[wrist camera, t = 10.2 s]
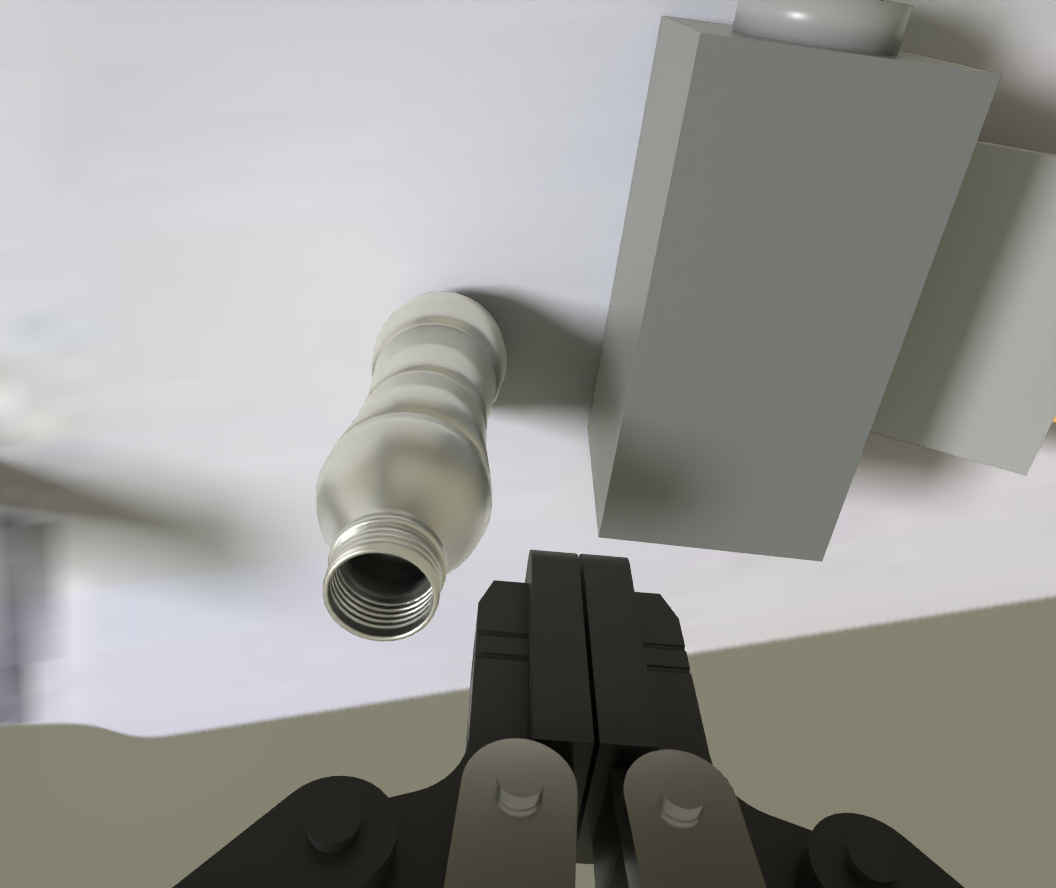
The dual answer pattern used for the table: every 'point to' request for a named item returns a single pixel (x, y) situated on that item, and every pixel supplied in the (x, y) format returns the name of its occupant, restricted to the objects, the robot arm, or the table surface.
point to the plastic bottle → (412, 467)
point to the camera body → (771, 268)
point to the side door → (985, 320)
